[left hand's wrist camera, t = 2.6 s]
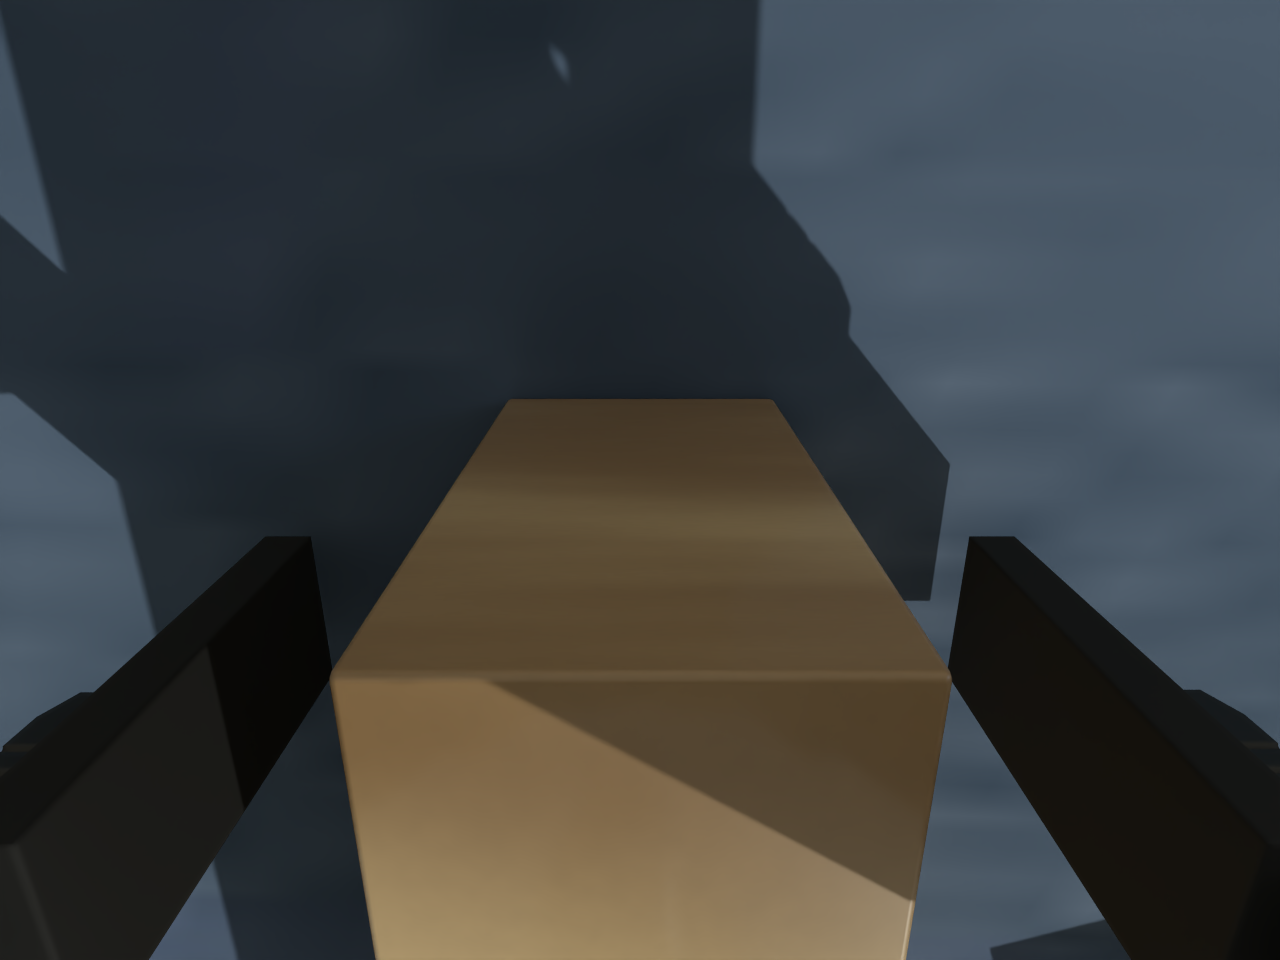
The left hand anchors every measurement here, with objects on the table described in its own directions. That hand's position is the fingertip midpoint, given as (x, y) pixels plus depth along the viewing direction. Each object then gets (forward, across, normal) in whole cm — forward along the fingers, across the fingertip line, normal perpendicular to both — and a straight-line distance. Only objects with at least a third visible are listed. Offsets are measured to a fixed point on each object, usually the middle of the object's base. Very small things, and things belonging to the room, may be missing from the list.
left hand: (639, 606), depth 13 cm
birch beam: (+1, 0, +8) cm, 9 cm away
